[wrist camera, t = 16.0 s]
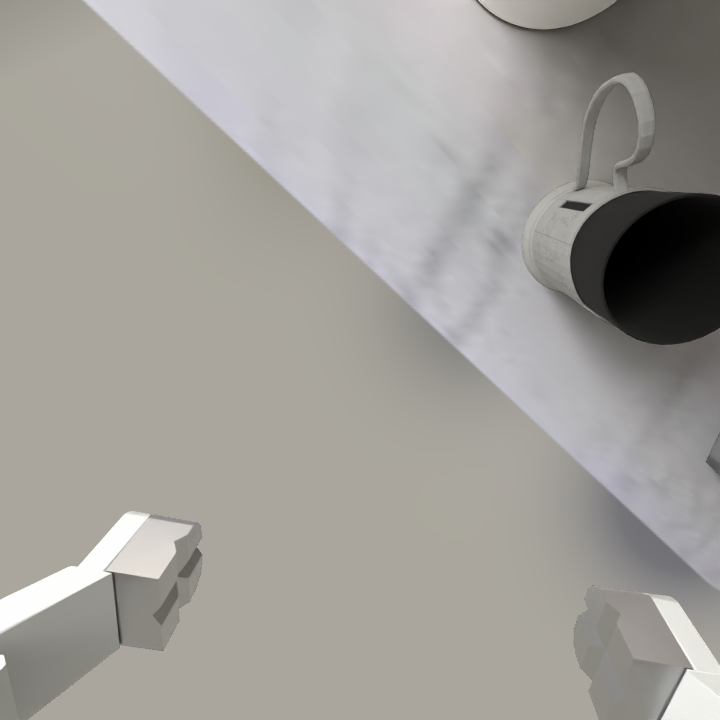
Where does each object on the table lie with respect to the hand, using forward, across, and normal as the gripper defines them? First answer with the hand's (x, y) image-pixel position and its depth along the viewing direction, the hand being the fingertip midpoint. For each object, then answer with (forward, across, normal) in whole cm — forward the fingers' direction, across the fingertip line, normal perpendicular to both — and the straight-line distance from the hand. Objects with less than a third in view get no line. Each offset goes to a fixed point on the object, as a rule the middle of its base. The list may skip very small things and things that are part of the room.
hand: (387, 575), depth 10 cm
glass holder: (+32, -12, -8) cm, 35 cm away
